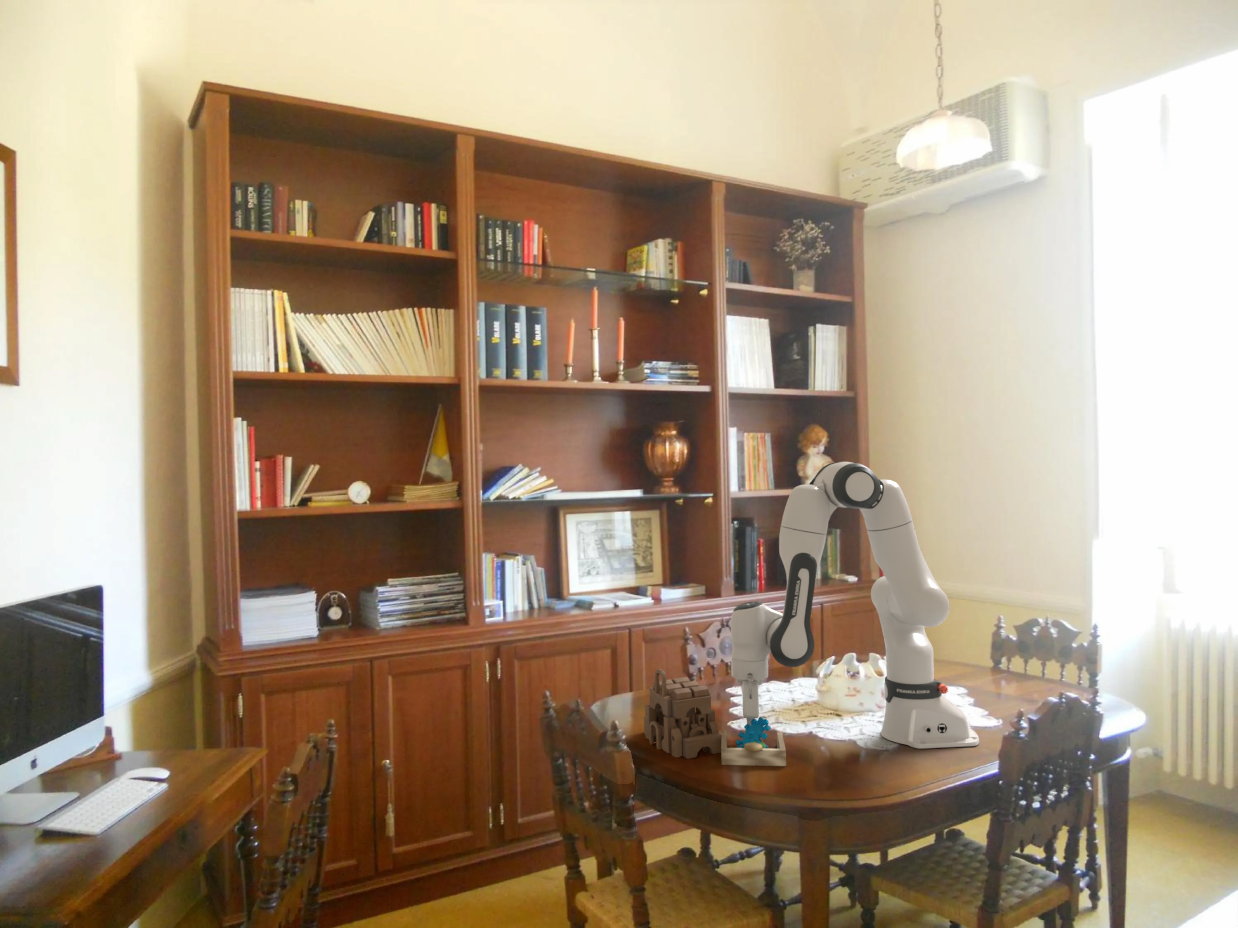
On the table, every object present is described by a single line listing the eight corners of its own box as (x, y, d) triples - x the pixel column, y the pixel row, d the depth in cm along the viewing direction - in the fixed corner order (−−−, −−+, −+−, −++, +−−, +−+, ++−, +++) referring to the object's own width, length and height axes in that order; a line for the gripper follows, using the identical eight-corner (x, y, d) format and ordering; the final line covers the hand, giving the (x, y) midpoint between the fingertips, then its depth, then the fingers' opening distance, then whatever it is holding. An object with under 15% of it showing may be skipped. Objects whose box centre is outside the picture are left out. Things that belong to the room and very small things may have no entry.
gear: (729, 738, 210) (758, 708, 210) (745, 753, 211) (774, 723, 211) (742, 760, 199) (772, 729, 199) (759, 775, 201) (789, 744, 201)
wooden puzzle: (730, 751, 207) (728, 673, 206) (675, 761, 200) (673, 680, 200) (685, 725, 227) (683, 654, 226) (634, 734, 221) (632, 661, 220)
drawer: (782, 746, 209) (781, 728, 209) (786, 768, 194) (786, 748, 194) (721, 745, 210) (721, 727, 210) (721, 766, 196) (721, 747, 196)
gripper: (764, 680, 201) (765, 739, 201) (761, 659, 221) (762, 713, 221) (736, 679, 202) (737, 739, 202) (736, 659, 222) (737, 713, 222)
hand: (750, 725), depth 212 cm, fingers closed
